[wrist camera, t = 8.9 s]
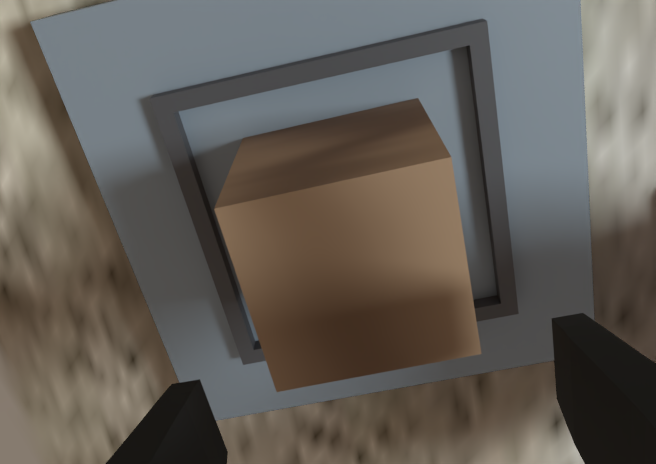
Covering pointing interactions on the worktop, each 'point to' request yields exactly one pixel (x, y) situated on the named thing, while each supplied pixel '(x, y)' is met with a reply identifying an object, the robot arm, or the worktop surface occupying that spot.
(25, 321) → the worktop surface
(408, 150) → the walnut block
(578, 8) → the slate base plate
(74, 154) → the worktop surface
